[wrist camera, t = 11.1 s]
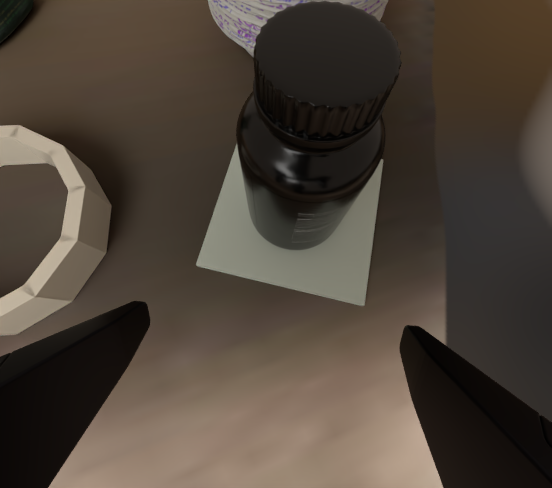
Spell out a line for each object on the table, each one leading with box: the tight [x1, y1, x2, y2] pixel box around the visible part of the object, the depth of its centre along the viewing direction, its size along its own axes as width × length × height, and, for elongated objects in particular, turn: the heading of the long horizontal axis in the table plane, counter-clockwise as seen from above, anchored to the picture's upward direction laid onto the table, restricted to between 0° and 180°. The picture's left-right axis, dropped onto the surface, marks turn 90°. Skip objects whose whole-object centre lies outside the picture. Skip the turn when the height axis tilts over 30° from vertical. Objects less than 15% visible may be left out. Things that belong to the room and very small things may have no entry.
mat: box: [196, 145, 383, 306], centre depth 20 cm, size 12×12×1 cm
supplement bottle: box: [236, 1, 401, 250], centre depth 14 cm, size 7×7×12 cm
